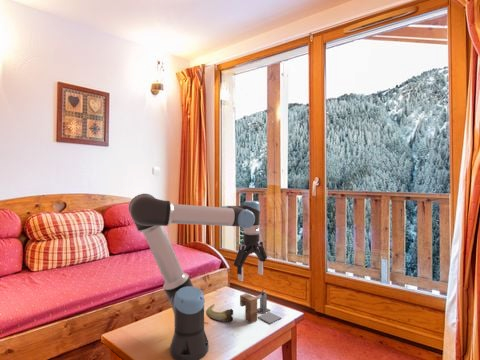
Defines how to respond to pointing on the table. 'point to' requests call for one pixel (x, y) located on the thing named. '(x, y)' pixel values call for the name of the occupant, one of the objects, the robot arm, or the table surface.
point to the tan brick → (249, 307)
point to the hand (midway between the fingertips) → (250, 277)
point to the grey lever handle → (261, 302)
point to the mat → (269, 317)
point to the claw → (220, 314)
